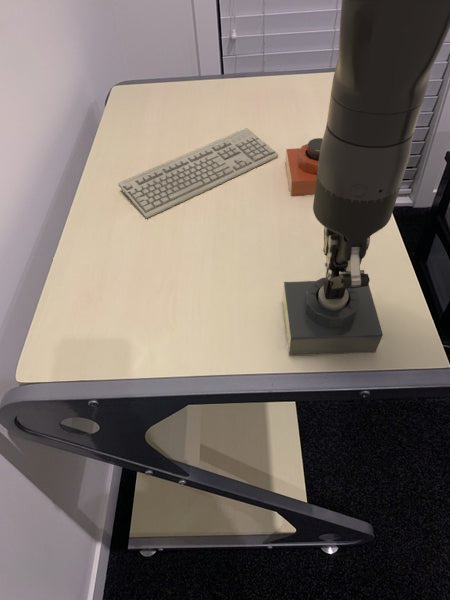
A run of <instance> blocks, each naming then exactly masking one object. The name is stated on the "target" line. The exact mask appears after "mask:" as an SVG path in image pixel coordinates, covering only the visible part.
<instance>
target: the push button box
mask: <svg viewBox="0 0 450 600" xmlns="http://www.w3.org/2000/svg"><path fill="white" fill-rule="evenodd" d="M325 278H326V277H320V278H319V279H317V280H307V281H306V280H305V281H284V282H283V289H282V290H283V292H282V308H283V316H284V326H285V334H286V342H287V343H286V344H287V352H288V356H306V355H307V356H309V355H312V356H313V355H336V354H337V355H338V354H370V353H372V354H373V353H377V351H378V349H379V346H380V343H381V341H382V338H383V336H384V333H383V330H382V325H381V322H380V318H379V315H378V312H377V308H376V305H375V302H374V298H373V294H372V292H371V291H372V290H371V288H370V284H369V285H368V286H365V287H359V288H349V289H346V290H347V292H348V295H349V298H348V302H347V306H346V307H345V308H343V309H342V310H329V309H326V308H323V307H322V306H321V305H320V304H319V303H318V302H317V299H318V293H319V290H320V288H321V287H322V286H324V283H325Z"/></svg>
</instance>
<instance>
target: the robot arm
mask: <svg viewBox="0 0 450 600" xmlns="http://www.w3.org/2000/svg"><path fill="white" fill-rule="evenodd" d="M449 31H450V0H341V6H340V20H339V35H338V36H339V37H338V38H339V39H338V58H337V62H336V65H335V70H334V73H333V78H332V83H331V89H330V96H329V97H330V98H329V103H328V111H327V118H326V119H327V120H326V125H325V129H324V133H323V135H322V138H323V140H322V144H321V149H320V156H319V163H318V171H317V179H316V187H315V194H314V195H313V203H312V211H313V215H314V217H315V218H316V220H317V221H318V223H320V224H321V226H323V248H322V249H323V250H322V252H323V253H324V256H325V262H324V267H325V269H326V271H325V272H326V273H325V277H324V278H325V283H324V293H325V298H326V299H342V298H343V297H344V293H345V289H349V288H359V287H365V286H368V285H369V286H370V279H371V278H370V277H369V274H368V273H365V272H366V271H365V270H364V269H361V265H362V261H363V259H364V258H365V257H366V255H367V251H368V250H369V246H370V244H371V237H372V236H373V235H374V234H376V233H377V232H379V231H381V230H382V229H384V228H385V227H386V226H387V224H388V223H389V222H390V221H391V218H392V216H393V211H394V208H395V205H396V201H397V199H398V196H399V193H400V189H401V186H402V183H403V179H404V176H405V173H406V171H407V167H408V164H409V161H410V156H411V153H412V147H413V145H412V144H413V139H414V134H415V130H416V126H417V123H418V120H419V117H420V113H421V111H422V109H423V108H422V107H423V105H424V100H425V97H426V94H427V91H428V86H429V82H430V77H431V73H432V69H433V67H434V65H435V62H436V61H437V58H438V56H439V54H440V52H441V49H442V48H443V46H444V44H445V41H446V38H447V36H448V33H449Z"/></svg>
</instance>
